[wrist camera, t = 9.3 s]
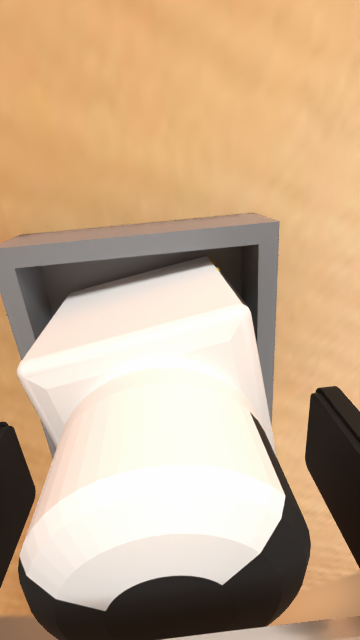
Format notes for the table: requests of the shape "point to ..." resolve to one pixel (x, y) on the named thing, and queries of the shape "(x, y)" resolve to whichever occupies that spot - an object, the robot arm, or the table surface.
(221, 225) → the bin
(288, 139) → the table surface
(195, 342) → the medicine bottle
